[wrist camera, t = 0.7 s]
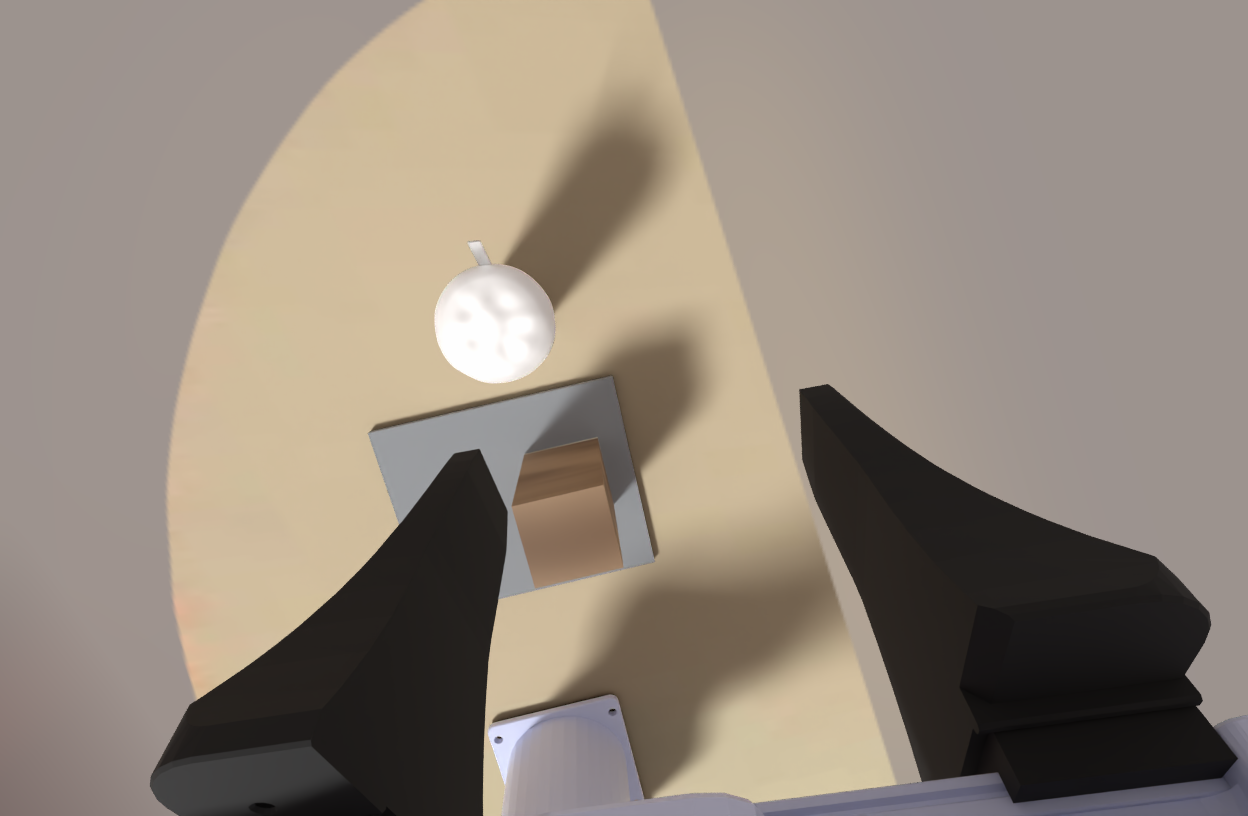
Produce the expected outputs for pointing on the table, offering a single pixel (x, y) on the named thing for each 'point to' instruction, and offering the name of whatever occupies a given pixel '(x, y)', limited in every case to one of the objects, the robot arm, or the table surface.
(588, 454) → the walnut block
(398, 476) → the mat
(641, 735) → the table surface
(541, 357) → the milkshake
